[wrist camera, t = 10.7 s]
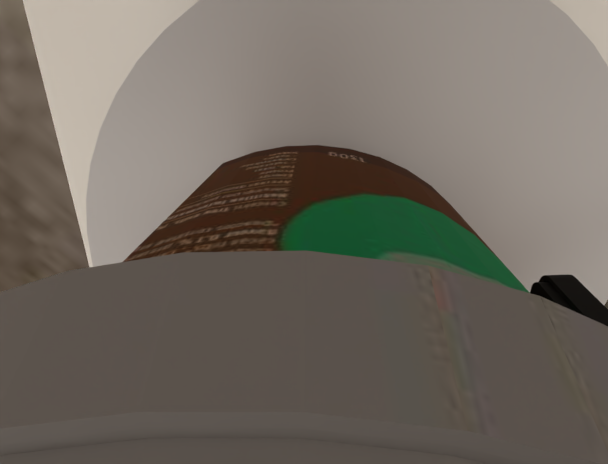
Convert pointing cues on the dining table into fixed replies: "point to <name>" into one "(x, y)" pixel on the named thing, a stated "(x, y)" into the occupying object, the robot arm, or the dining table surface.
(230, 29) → the dial scale
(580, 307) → the robot arm
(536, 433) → the food container
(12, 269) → the dining table surface
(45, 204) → the dining table surface
